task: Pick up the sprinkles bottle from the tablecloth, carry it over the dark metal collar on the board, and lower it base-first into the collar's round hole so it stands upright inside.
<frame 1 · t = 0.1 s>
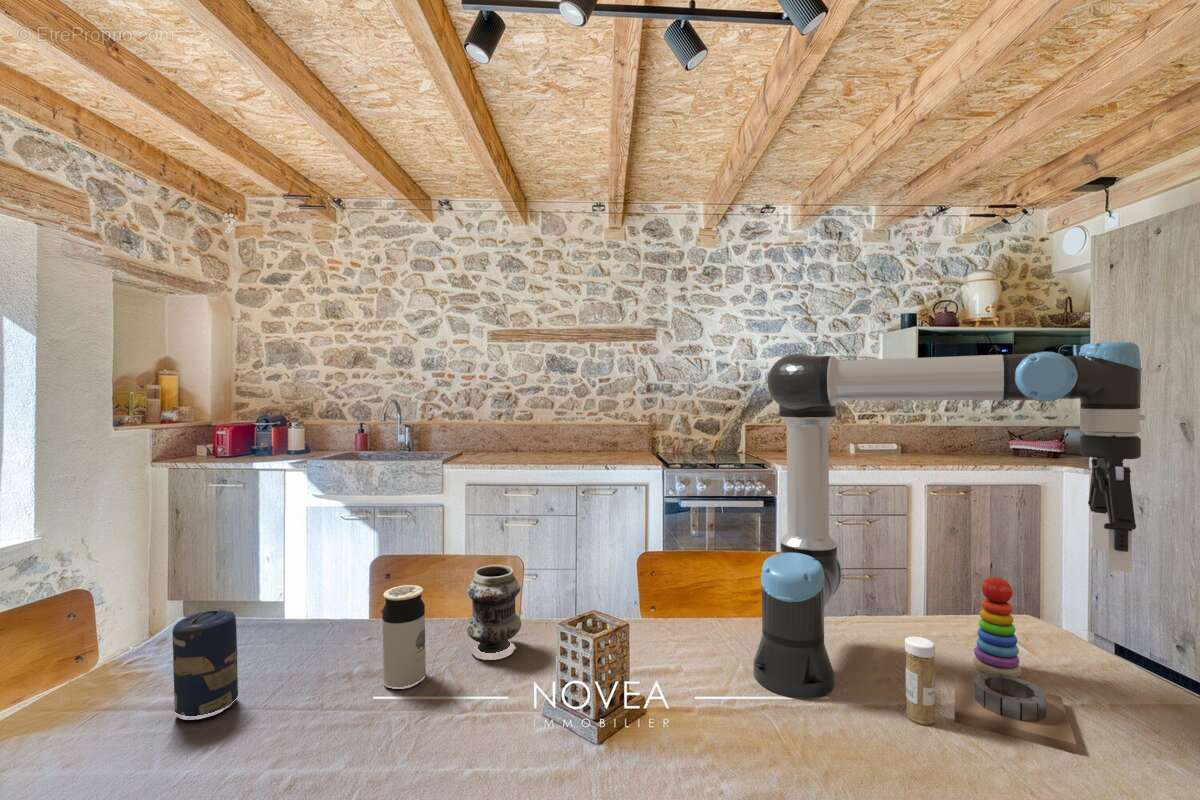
hand: (1109, 559, 93), 28 cm above the table, tool pointing down, fingers open, 13 cm apart
collar: (1009, 704, 97), resting on base board
canister: (207, 711, 100), on the table
travel mug: (404, 681, 110), on the table
sprinkles bottle: (920, 719, 96), on the table
stacking toy: (996, 671, 112), on the table
apothecary jar: (494, 651, 123), on the table
base board: (1009, 712, 97), on the table
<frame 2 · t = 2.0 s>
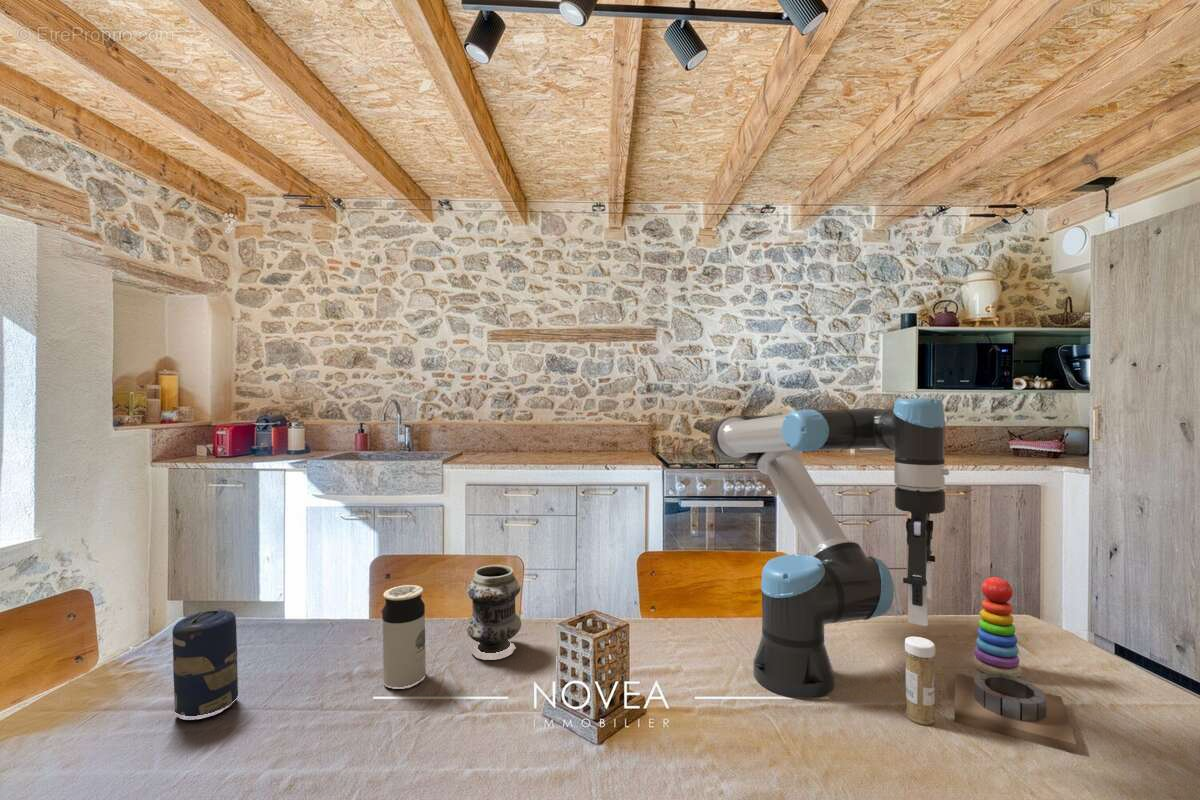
hand: (920, 610, 95), 19 cm above the table, tool pointing down, fingers open, 13 cm apart
nothing on the table moved.
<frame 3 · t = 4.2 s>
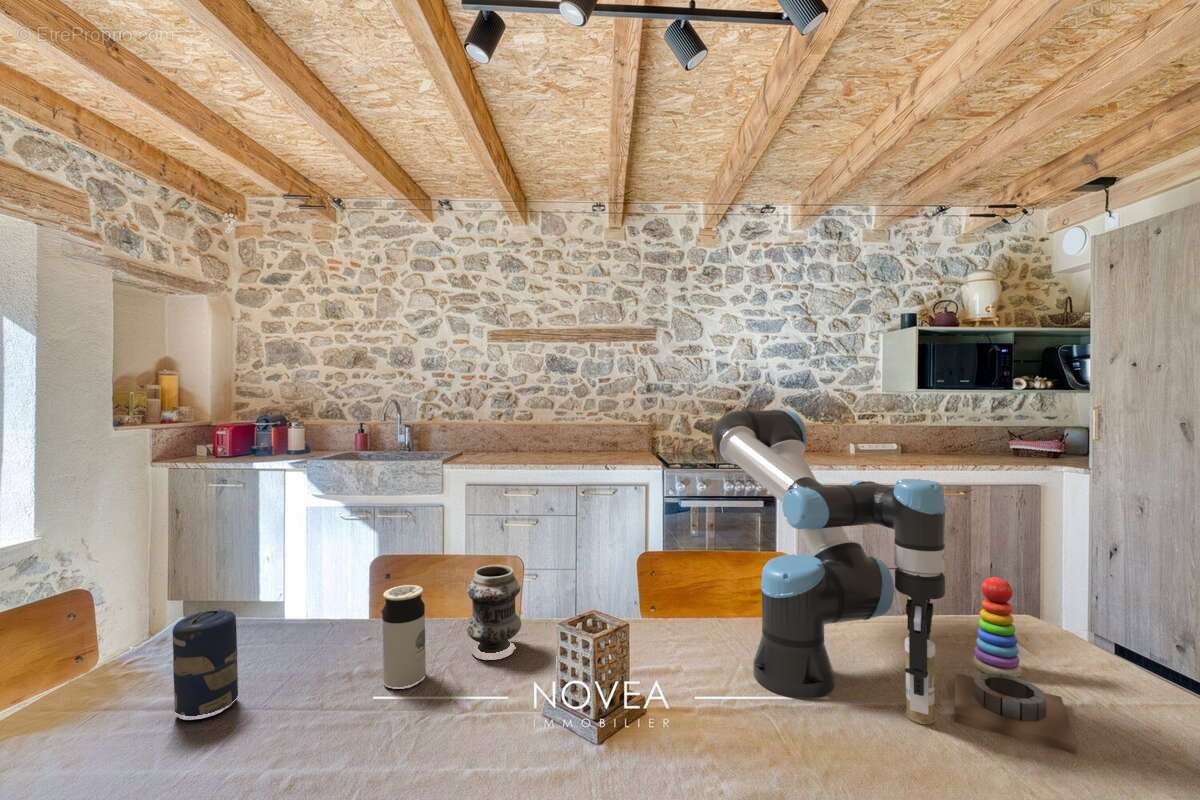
hand: (920, 703, 96), 2 cm above the table, tool pointing down, fingers closed on sprinkles bottle, 4 cm apart
sprinkles bottle: (920, 719, 96), on the table, touching gripper
everything else where it was.
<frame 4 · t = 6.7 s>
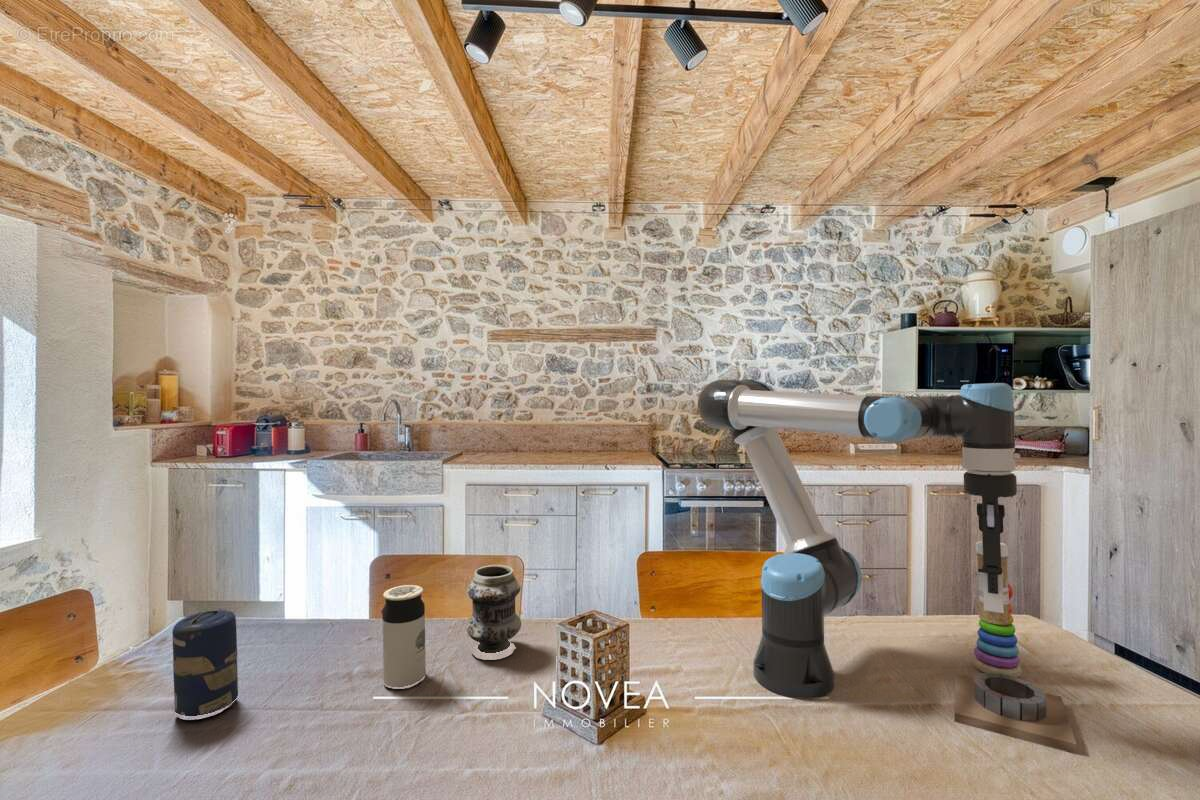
hand: (993, 606, 96), 19 cm above the table, tool pointing down, fingers closed on sprinkles bottle, 4 cm apart
sprinkles bottle: (994, 621, 96), point 17 cm above the table, touching gripper
everything else where it was.
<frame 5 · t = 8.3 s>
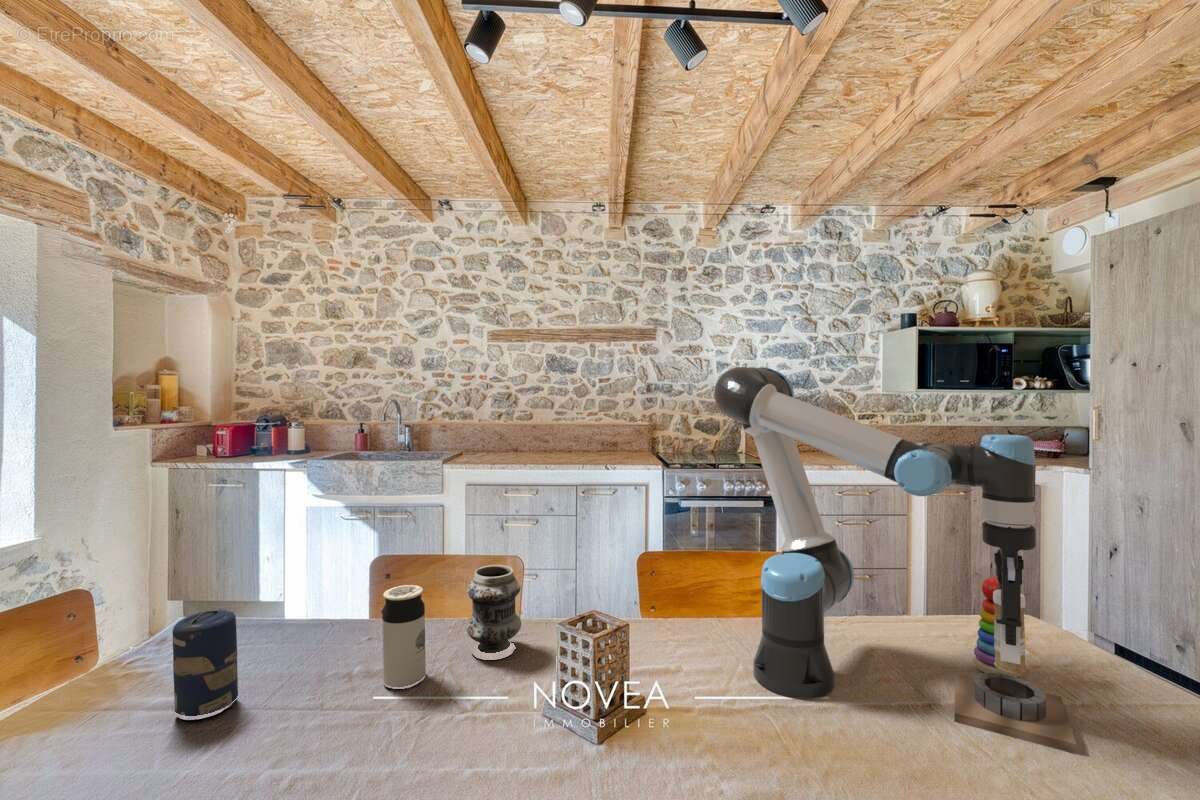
hand: (1009, 655, 97), 10 cm above the table, tool pointing down, fingers closed on sprinkles bottle, 4 cm apart
sprinkles bottle: (1009, 670, 97), point 8 cm above the table, touching gripper
everything else where it was.
when the fingers open (6 cm above the table, at t = 9.6 s): sprinkles bottle drops 2 cm, resting on base board.
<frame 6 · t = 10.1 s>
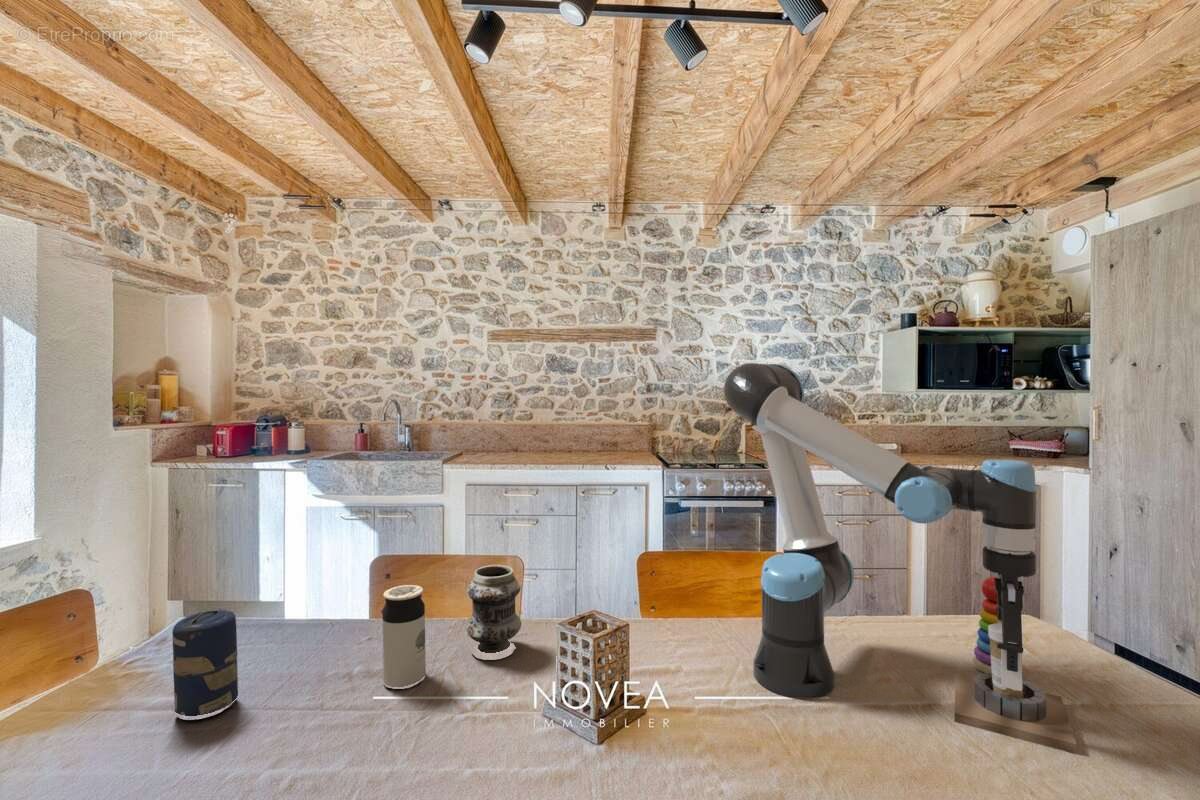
hand: (1008, 672, 97), 7 cm above the table, tool pointing down, fingers open, 11 cm apart
sprinkles bottle: (1008, 704, 97), point 1 cm above the table, touching base board
everything else where it was.
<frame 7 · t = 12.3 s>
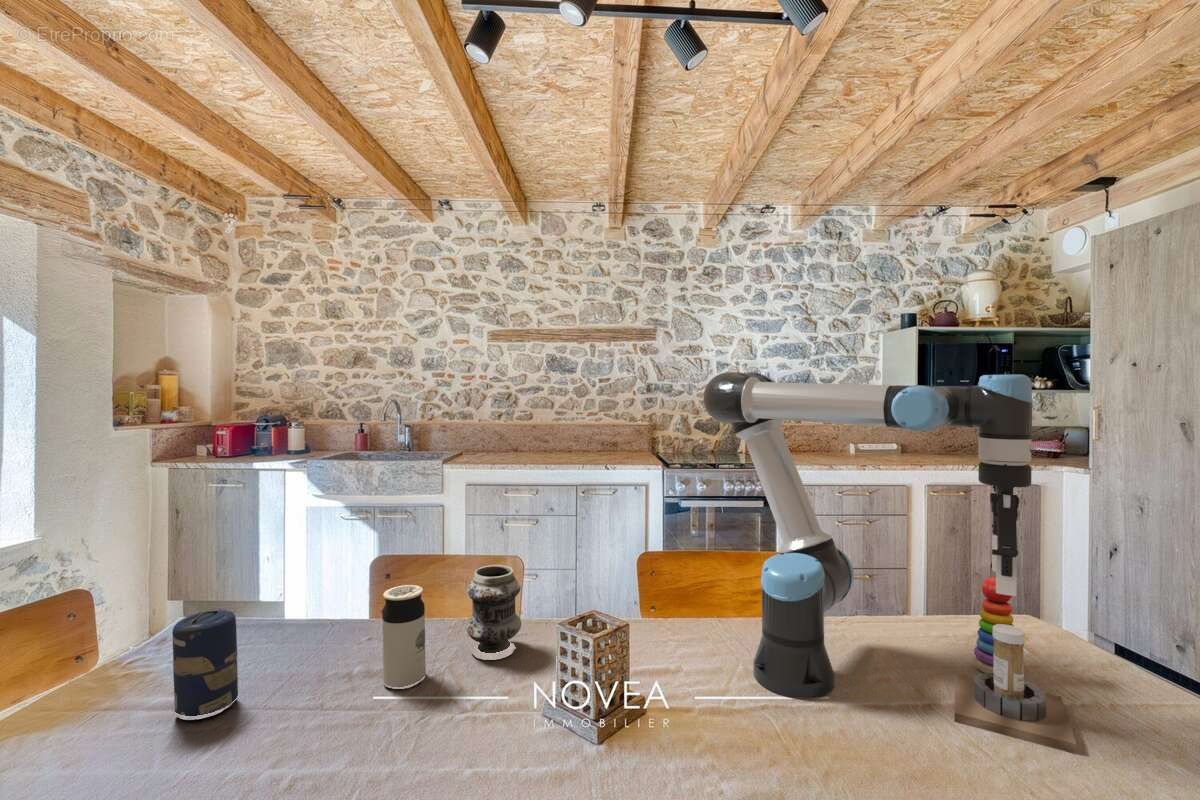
hand: (1003, 582, 97), 23 cm above the table, tool pointing down, fingers open, 13 cm apart
nothing on the table moved.
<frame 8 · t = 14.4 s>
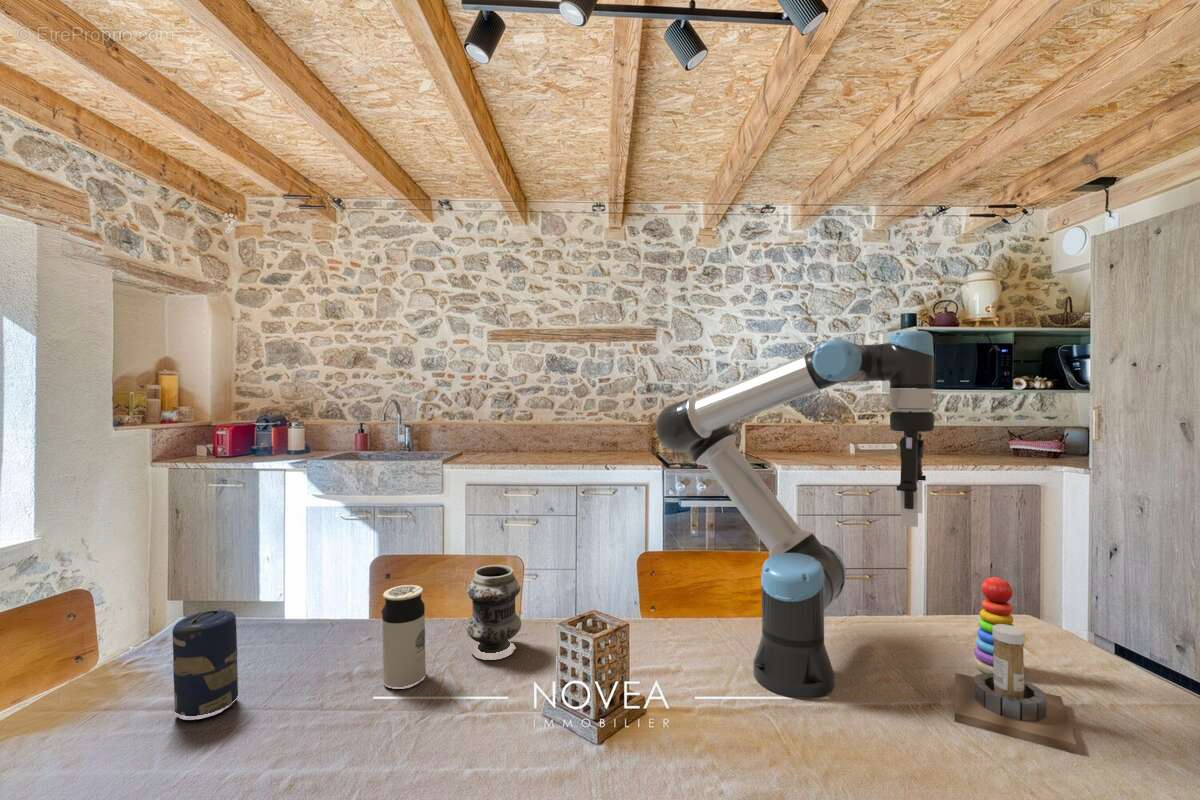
hand: (912, 519, 108), 32 cm above the table, tool pointing down, fingers open, 13 cm apart
nothing on the table moved.
at the end: sprinkles bottle 0.1 cm off-centre on the collar, point 0.0 cm above the collar's base; sprinkles bottle tilted 0°; the gripper is holding nothing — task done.
